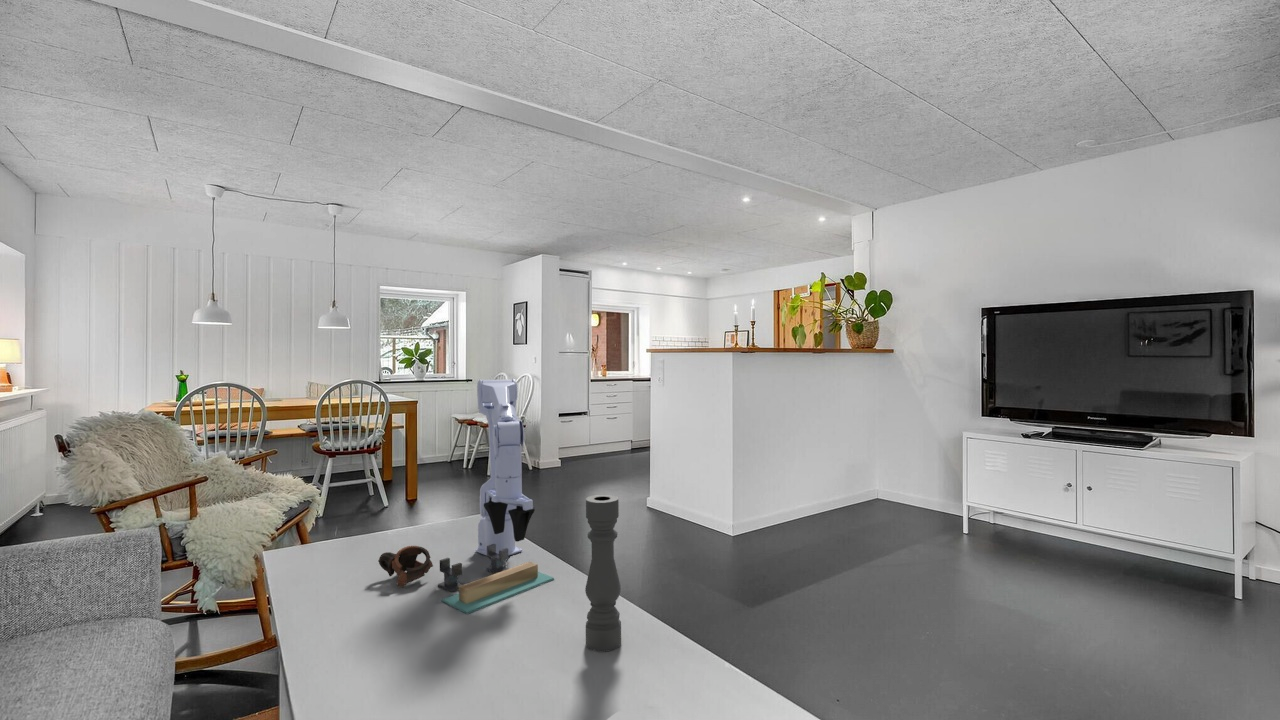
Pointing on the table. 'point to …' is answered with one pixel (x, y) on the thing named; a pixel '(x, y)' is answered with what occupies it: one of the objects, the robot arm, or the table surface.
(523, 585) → the teal mat
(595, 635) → the candle holder
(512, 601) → the table surface
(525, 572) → the oak bar
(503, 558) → the hook standards
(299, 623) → the table surface
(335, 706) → the table surface
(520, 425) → the robot arm
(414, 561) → the pottery mug
